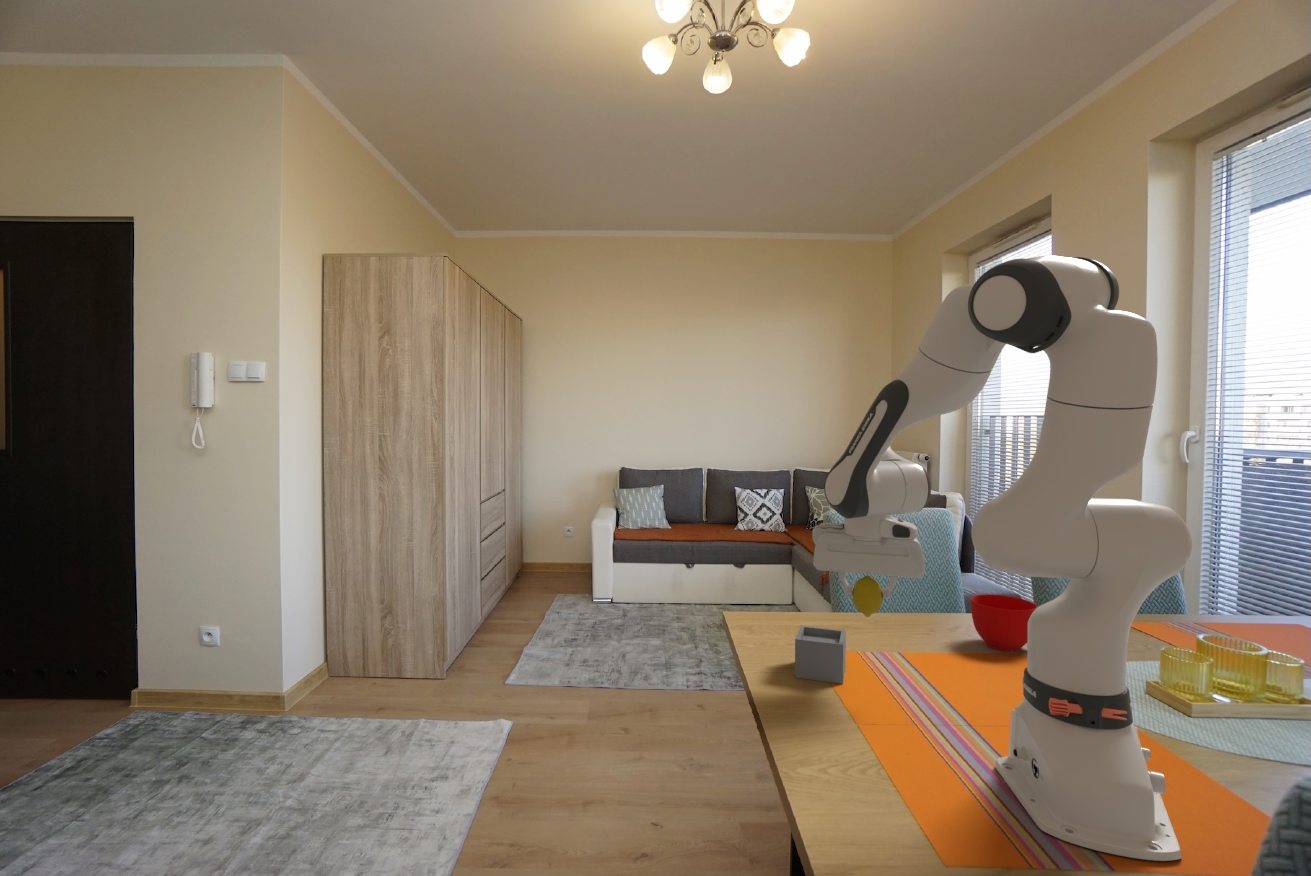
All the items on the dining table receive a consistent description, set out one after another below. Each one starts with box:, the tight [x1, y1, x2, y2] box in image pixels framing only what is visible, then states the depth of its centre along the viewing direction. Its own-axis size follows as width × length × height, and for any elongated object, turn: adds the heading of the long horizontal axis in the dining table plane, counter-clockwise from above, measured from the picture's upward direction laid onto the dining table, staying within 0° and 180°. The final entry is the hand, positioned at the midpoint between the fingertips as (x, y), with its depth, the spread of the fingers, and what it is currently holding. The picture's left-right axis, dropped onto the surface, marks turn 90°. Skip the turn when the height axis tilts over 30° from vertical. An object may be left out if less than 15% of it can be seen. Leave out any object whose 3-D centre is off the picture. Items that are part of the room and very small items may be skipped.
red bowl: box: [970, 594, 1038, 652], centre depth 134 cm, size 13×17×10 cm
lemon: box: [851, 575, 884, 618], centre depth 116 cm, size 6×6×8 cm
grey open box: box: [794, 625, 847, 685], centre depth 120 cm, size 9×9×8 cm
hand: (867, 596), depth 116 cm, fingers closed on lemon, 5 cm apart
